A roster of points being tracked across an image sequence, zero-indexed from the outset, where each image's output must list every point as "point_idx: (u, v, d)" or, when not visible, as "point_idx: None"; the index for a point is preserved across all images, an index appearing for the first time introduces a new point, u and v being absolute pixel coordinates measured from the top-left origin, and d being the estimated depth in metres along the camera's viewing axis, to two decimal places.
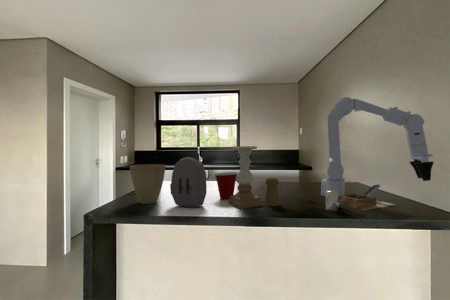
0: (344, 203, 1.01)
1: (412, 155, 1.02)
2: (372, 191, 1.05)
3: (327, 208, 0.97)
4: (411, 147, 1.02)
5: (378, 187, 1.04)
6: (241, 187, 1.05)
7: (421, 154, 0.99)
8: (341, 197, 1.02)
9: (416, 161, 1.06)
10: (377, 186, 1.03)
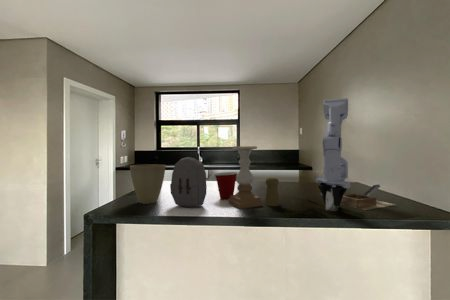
0: (344, 203, 1.01)
1: None
2: (372, 191, 1.05)
3: (327, 208, 0.97)
4: None
5: (378, 187, 1.04)
6: (241, 187, 1.05)
7: None
8: None
9: None
10: (377, 186, 1.03)
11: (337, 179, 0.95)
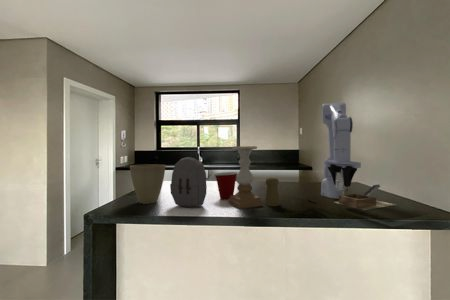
0: (344, 203, 1.01)
1: None
2: (372, 191, 1.05)
3: (337, 189, 0.98)
4: None
5: (378, 187, 1.04)
6: (241, 187, 1.05)
7: None
8: (341, 197, 1.02)
9: None
10: (377, 186, 1.03)
11: (347, 160, 0.96)
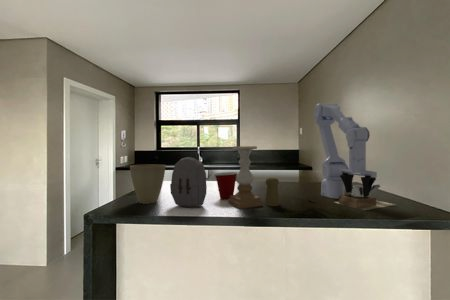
0: (344, 203, 1.01)
1: None
2: (372, 191, 1.05)
3: None
4: None
5: (378, 187, 1.04)
6: (241, 187, 1.05)
7: None
8: (341, 197, 1.02)
9: None
10: (377, 186, 1.03)
11: (363, 169, 0.98)
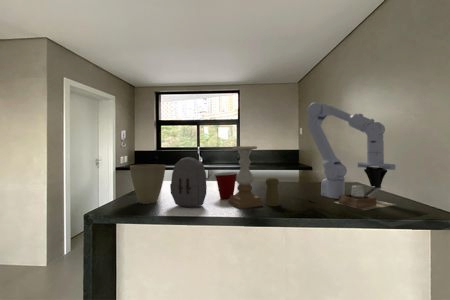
0: (344, 203, 1.01)
1: None
2: (373, 192, 1.05)
3: None
4: None
5: (379, 188, 1.03)
6: (241, 187, 1.05)
7: None
8: (341, 197, 1.02)
9: None
10: (378, 187, 1.03)
11: (381, 162, 1.01)
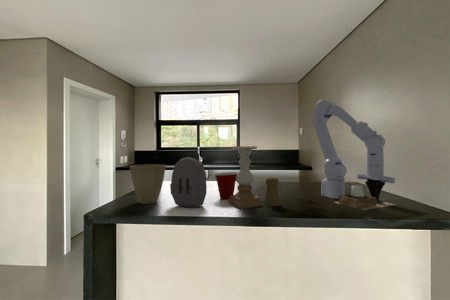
0: (344, 203, 1.01)
1: None
2: None
3: None
4: None
5: None
6: (241, 187, 1.05)
7: None
8: (341, 197, 1.02)
9: None
10: (383, 202, 1.01)
11: (381, 175, 1.01)
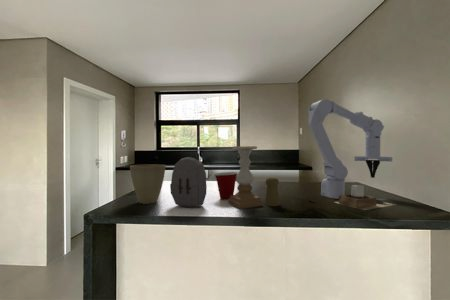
0: (344, 203, 1.01)
1: None
2: None
3: None
4: None
5: None
6: (241, 187, 1.05)
7: None
8: (341, 197, 1.02)
9: (373, 162, 1.17)
10: (384, 202, 1.01)
11: None
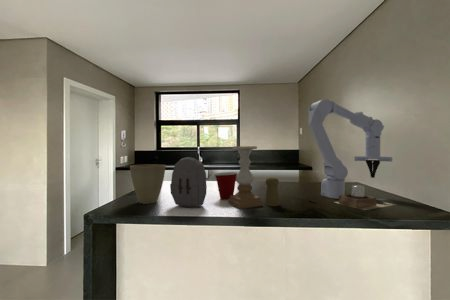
0: (344, 203, 1.01)
1: None
2: None
3: None
4: None
5: None
6: (241, 187, 1.05)
7: None
8: (341, 197, 1.02)
9: (373, 162, 1.17)
10: (384, 202, 1.01)
11: None
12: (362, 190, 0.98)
